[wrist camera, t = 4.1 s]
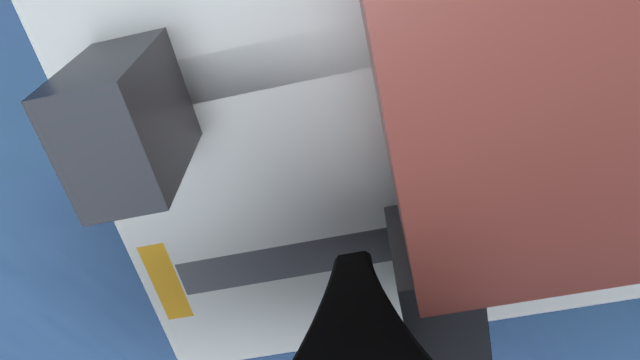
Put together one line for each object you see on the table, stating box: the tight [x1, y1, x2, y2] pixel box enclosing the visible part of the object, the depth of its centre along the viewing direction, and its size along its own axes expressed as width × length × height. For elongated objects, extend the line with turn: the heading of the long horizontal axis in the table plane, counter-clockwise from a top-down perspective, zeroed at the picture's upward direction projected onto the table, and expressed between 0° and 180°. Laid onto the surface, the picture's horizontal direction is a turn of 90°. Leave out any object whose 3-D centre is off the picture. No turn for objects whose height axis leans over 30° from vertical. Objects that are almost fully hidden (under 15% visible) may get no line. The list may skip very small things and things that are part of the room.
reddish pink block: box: [359, 0, 640, 318], centre depth 10 cm, size 6×6×5 cm
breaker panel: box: [11, 0, 640, 360], centre depth 12 cm, size 18×11×4 cm, turn 102°
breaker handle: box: [384, 205, 492, 360], centre depth 13 cm, size 2×2×3 cm
